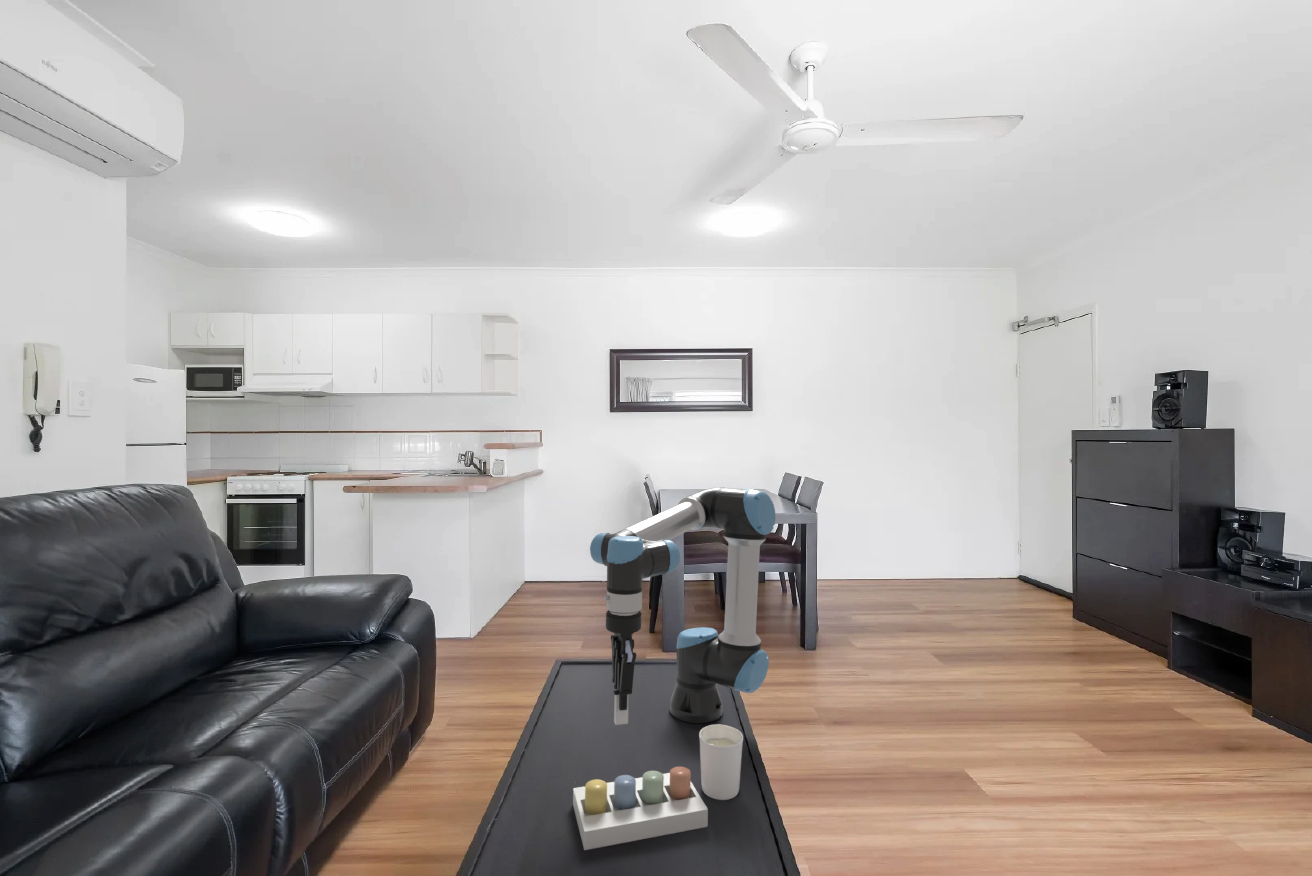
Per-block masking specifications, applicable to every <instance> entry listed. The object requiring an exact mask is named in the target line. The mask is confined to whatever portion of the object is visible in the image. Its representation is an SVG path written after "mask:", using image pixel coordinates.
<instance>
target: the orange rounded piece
mask: <svg viewBox="0 0 1312 876" xmlns="http://www.w3.org/2000/svg"><path fill="white" fill-rule="evenodd" d="M669 773H670V796H671V797H672V798H673V799H675V800H683V799H688V798H689V797H690V785H691V782H692V781H691V777H692V776H691V773H692V772H691V770H690V769H689V768H688V767H685V766H674V767H672V768H671V769H670V770H669Z"/></svg>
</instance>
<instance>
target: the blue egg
mask: <svg viewBox="0 0 1312 876" xmlns="http://www.w3.org/2000/svg"><path fill="white" fill-rule="evenodd" d="M635 778H636V777H634V776H632V775H628V774H622V775H618V776H617V777H615V779H614V781H613V782H614V806H615V807H616V808H617V809H620V810H625V809H631V808H633V807H634V806H635V799H636V780H635Z"/></svg>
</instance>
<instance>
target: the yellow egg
mask: <svg viewBox="0 0 1312 876" xmlns="http://www.w3.org/2000/svg"><path fill="white" fill-rule="evenodd" d="M607 783H608V782H606V781H605V780H602V779H600V778H599V779H598V778H597V779H591V780H589V781H587V782H586V783H585V811H586V812H587V813H588V814H590V815H596V814H602V813H604V812H605V811H606V809H607Z"/></svg>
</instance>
